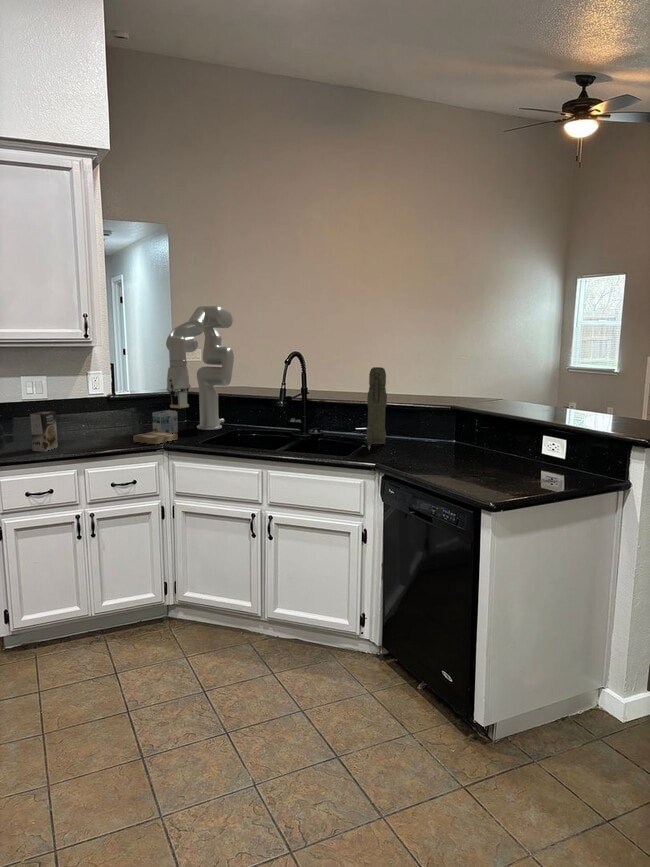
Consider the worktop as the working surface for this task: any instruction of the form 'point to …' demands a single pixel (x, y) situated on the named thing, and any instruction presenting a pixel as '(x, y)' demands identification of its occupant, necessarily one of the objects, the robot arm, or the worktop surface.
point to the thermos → (376, 406)
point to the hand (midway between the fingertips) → (179, 403)
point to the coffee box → (43, 431)
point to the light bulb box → (165, 421)
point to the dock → (155, 437)
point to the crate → (181, 400)
